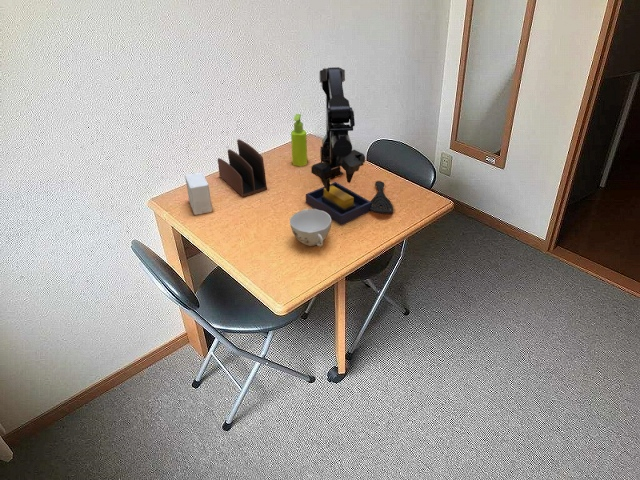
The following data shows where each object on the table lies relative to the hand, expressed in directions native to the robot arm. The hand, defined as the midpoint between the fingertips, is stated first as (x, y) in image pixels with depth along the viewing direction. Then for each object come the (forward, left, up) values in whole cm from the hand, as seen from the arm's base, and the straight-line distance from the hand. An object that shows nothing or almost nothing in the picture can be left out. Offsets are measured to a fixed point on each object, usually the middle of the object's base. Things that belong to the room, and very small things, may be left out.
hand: (338, 186), depth 162 cm
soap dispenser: (-35, +10, -8) cm, 37 cm away
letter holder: (-36, -16, -8) cm, 40 cm away
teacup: (+11, -20, -8) cm, 24 cm away
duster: (0, 0, -7) cm, 7 cm away
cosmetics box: (-31, -36, -8) cm, 48 cm away
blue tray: (0, 0, -8) cm, 8 cm away
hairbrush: (+6, +14, -8) cm, 17 cm away
